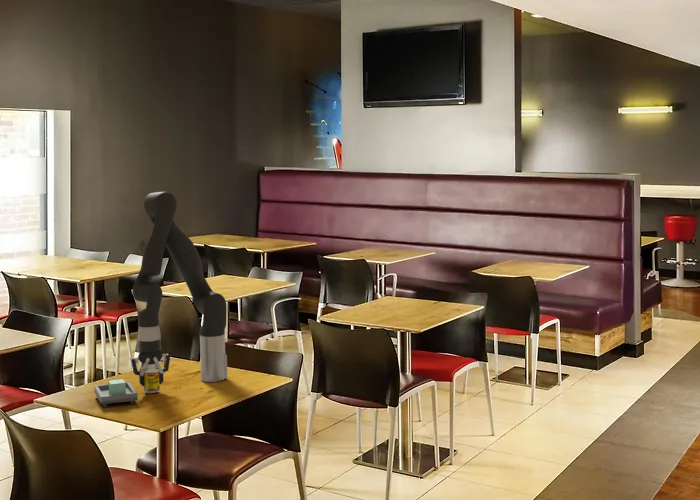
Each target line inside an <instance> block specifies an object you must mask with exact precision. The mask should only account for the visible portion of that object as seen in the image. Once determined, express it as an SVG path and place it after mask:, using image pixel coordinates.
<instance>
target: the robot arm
mask: <svg viewBox="0 0 700 500" xmlns="http://www.w3.org/2000/svg"><path fill="white" fill-rule="evenodd" d="M177 203H178V202H177V199H176V196H175V195H174V194H173V193H171V192H169V191H156V192H155V191H154V192H151V193H148V194H147V195H146V196H145V197H144V201H143V207H144V210H145V214H146V215H147V216H148V218H149V219H150V221H151V222H152V224H153V228H152V231H151V233H150V236H149V238H148V240H147V243H145V247H144V249H143V254H142V260H141V266H140V269H139V272H138V273H137V276H136V278H135V281H134V283H133V285H132V296H133V298H134V300H136V302H141V303H146V306H145V308H142V309H140V310H139V311H138V315H137V316H138V317H137V318H138V330H137V331H138V333H137V334H138V335H137V337H138V356H136V357H131V358H130V363H131V368H132V372H133V374H134V375H135V376H138V379H139V381H138V383H139V384H140V386H142V387H144V376H143V374H144V372H145V370H146V368H147V365H148V364H156V366H157V367H156V368H158V370H159V383H160V385H161V384H162V383H164V380H165V379H164V373H166V372H168V371H169V367H170V361H171V356H170V354H169V353H162V345H161V335H162V334H161V330H160V318H159V317H160V316H159V315H160V314H159V313H160V309H161V304H162V299H163V289H162V286H160V285H159V283H156V282H152V280H153V278H155V277H158V276H160V275H161V273H162V268H163V267H162V266H163V260H164V253H165V249H167V251H168V252H169V254H170V256H171V258H172V260H173V262H174V264H175V266H176V268H177V269H178V272H179V273H180V275H181V277H182V280H183V281H184V282H185V284H186V286H187V288H188V289H189V292H190V294H191V297H192V300H193V303H194V305H195V308H196V309H197V311H198V312H199V313H200V314H202V315H203V321H202V326H200V327H199V353H200V354H199V355H200V380H201V381H202V382H206V383H217V381H218V382H222V381H221V380H223V381H225V380H224V379H227V380H228V355H227V354H226V339H225V337H226V336H225V335H226V334H225V333H226V331H225V329H226V327H227V318H228V317H227V313H228V311H227V310H228V309H227V301H226V298H225V297H224V295H222V294H221V293H219V292H215V291H213V289H212V288H211V287H210V285H209V283H208V282H207V279H206V277H205V275H204V270H203V262H202V258H201V256H200V254H199V251H198V250H197V248H196V246H195V244H194V243H193V240H191V238H189V236H188V235H187V234H186V233H185V232H184V231H183V230H181V228H180V227H179V226H178V225H177V224H176V222H175V220H174V218H175V214H176V211H177V207H178V204H177ZM162 359H163V361H164V362H163V367H162V366H161V364H160V361H161V360H162ZM138 361H140V363H141V364H140V368H139V370H138V367H137V364H138V363H139V362H138Z"/></svg>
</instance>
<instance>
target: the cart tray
mask: <svg viewBox="0 0 700 500" xmlns="http://www.w3.org/2000/svg"><path fill="white" fill-rule="evenodd" d="M125 382H126V393H125V394H117V395H109V385H108V383H107V384H106V383H105V384H98V385H97V384H96V385H93V386H94V387H93V388H94V389H93V390H94V394H95V395H96V398H97V399H98V401H99V403H100V404H101V405H103V408H108V407H109V406H108V405H110V404H115V403H123V402H125V403H126V402H130V405H134V404H135V401H138V400H139V399H138V392H137V391H136V389H135V387H134V386H133V385H132V384H131V382H130V381H125Z"/></svg>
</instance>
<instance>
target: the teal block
mask: <svg viewBox="0 0 700 500" xmlns="http://www.w3.org/2000/svg"><path fill="white" fill-rule="evenodd" d="M107 382H108V383H107V384H108V385H109V395H117V394H125V393H126V382H127V381H125V380H124V379H123V378H122V379H120V378H119V379H113V380H108V381H107Z"/></svg>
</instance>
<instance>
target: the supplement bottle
mask: <svg viewBox="0 0 700 500" xmlns="http://www.w3.org/2000/svg"><path fill="white" fill-rule="evenodd" d="M143 376H144V386H143V391H144V393H147V394H154V393H158V392H159V391H160V389H161V388H160V385H161V384H160V383H159V370H158V368H157V366H156V364H148V365H147V368H146V370H145V372H144V374H143Z"/></svg>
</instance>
